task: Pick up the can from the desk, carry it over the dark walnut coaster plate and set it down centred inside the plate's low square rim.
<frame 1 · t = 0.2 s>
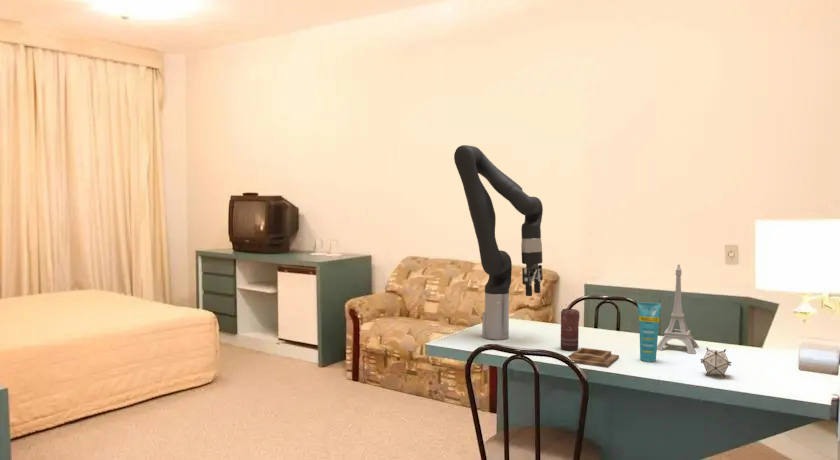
hand: (533, 294, 234), 18 cm above the table, tool pointing down, fingers open, 8 cm apart
coaster plate: (591, 359, 209), on the table
can: (569, 349, 224), on the table
eiffel tower: (677, 349, 226), on the table
tube: (648, 361, 208), on the table
game die: (715, 376, 190), on the table
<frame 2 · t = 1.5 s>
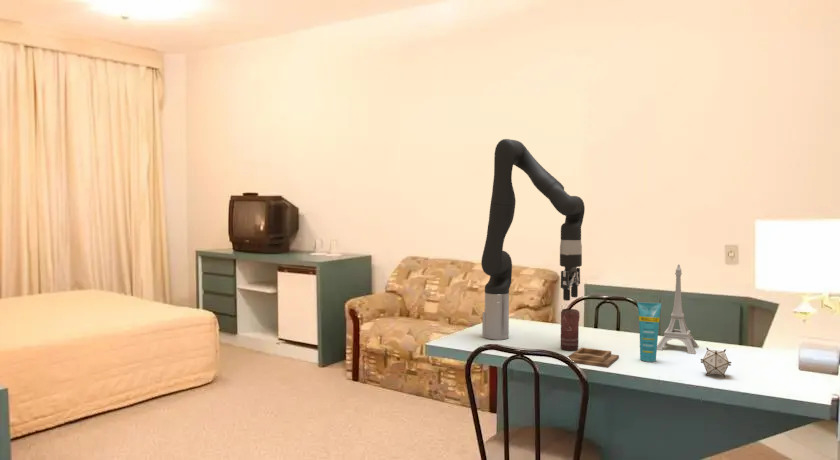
hand: (570, 298, 223), 18 cm above the table, tool pointing down, fingers open, 8 cm apart
nothing on the table moved.
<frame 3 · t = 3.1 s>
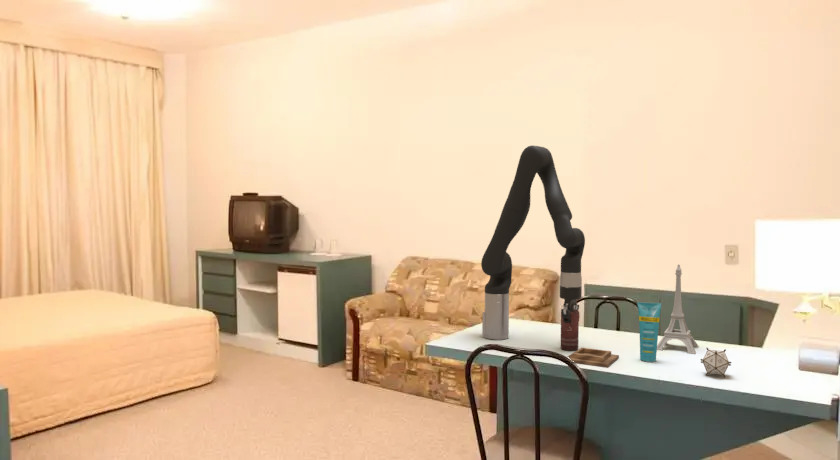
hand: (570, 333, 224), 6 cm above the table, tool pointing down, fingers closed
nothing on the table moved.
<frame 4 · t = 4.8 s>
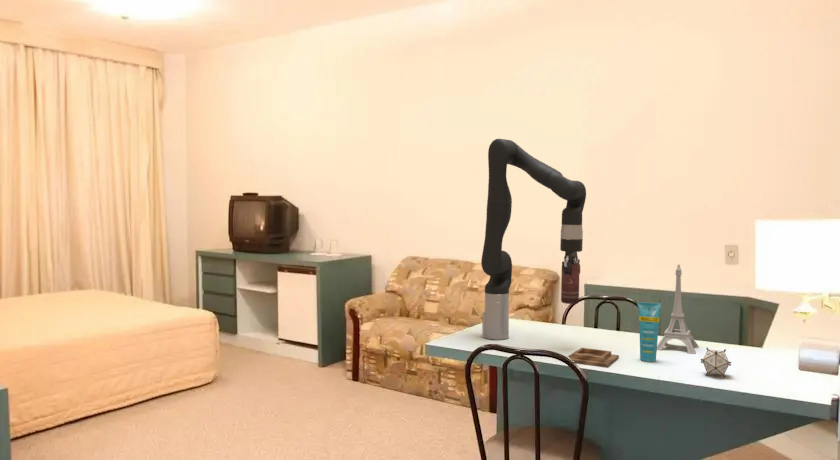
hand: (570, 286, 223), 22 cm above the table, tool pointing down, fingers closed
can: (570, 303, 223), point 16 cm above the table, touching hand
everything else where it was.
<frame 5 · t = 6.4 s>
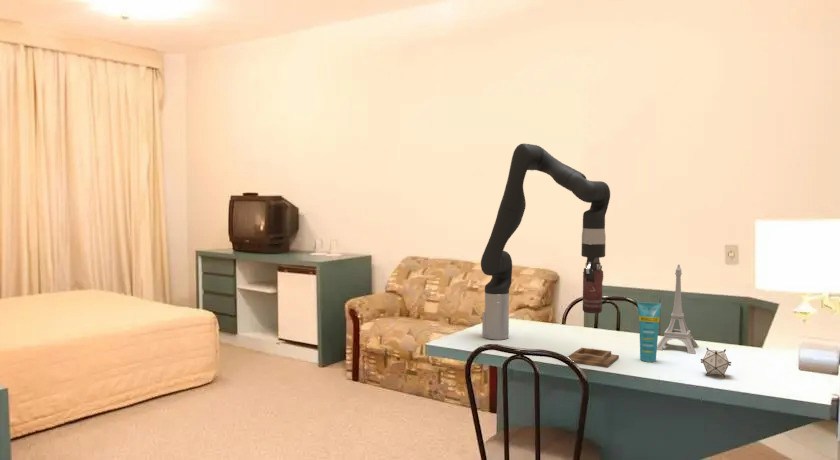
hand: (592, 295, 208), 21 cm above the table, tool pointing down, fingers closed
can: (592, 312, 208), point 16 cm above the table, touching hand
everything else where it was.
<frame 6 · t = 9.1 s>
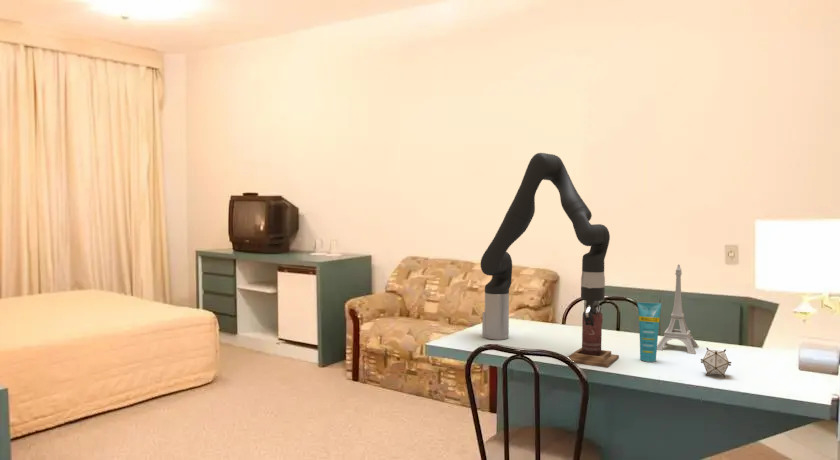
hand: (591, 337, 208), 7 cm above the table, tool pointing down, fingers closed
can: (591, 354, 209), point 2 cm above the table, touching hand
everything else where it was.
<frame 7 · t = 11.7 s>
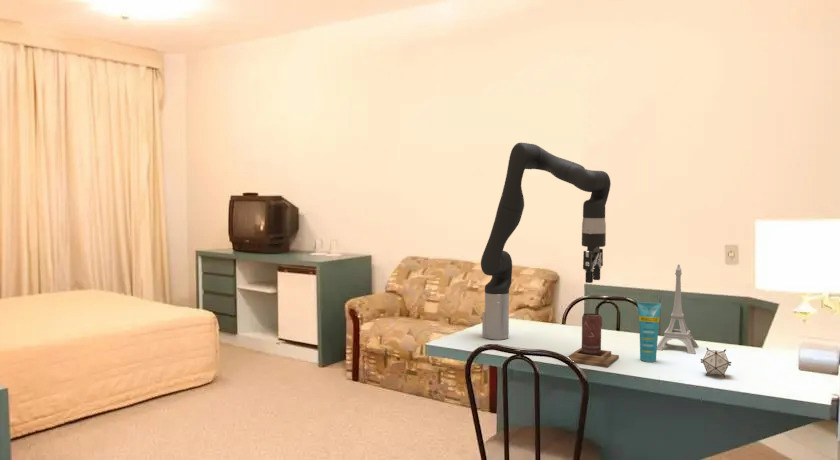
hand: (592, 281, 208), 26 cm above the table, tool pointing down, fingers open, 8 cm apart
can: (591, 357, 209), point 1 cm above the table, touching coaster plate
everything else where it was.
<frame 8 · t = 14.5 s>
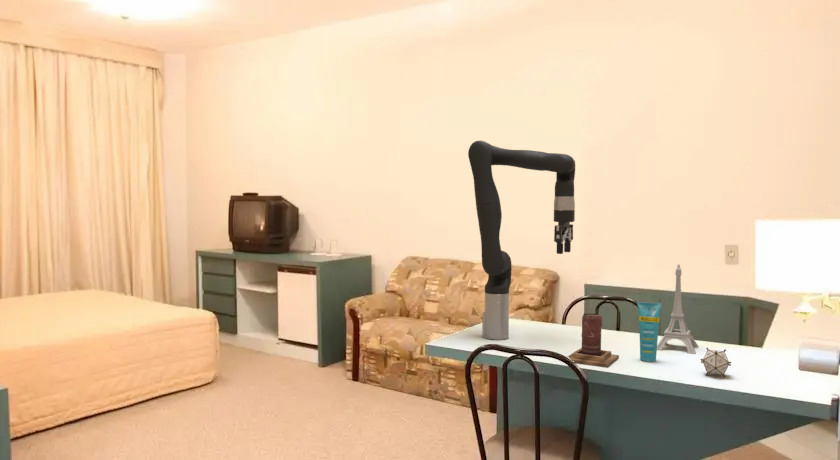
hand: (563, 253, 234), 33 cm above the table, tool pointing down, fingers open, 8 cm apart
nothing on the table moved.
at the end: can 0.1 cm off-centre on the coaster plate, point 0.8 cm above the coaster plate's base; can tilted 0°; the gripper is holding nothing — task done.
